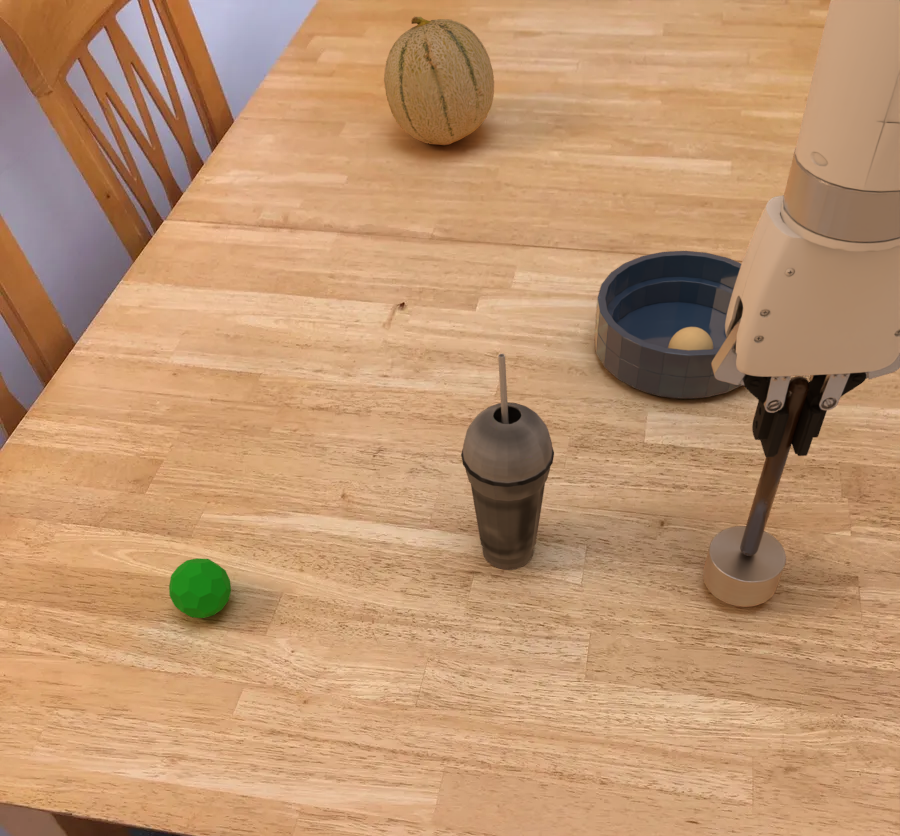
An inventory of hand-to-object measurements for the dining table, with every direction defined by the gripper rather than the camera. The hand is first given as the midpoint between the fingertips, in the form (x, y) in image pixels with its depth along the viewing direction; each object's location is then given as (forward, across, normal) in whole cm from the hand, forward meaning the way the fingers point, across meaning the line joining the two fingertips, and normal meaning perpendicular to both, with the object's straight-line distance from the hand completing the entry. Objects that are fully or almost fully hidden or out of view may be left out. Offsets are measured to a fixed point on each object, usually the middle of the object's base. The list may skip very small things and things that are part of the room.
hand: (781, 441), depth 65 cm
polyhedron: (+16, +45, 0) cm, 48 cm away
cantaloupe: (+16, +25, -81) cm, 86 cm away
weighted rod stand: (+15, 0, 0) cm, 15 cm away
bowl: (+16, 0, -32) cm, 36 cm away
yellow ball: (+13, 0, -28) cm, 31 cm away
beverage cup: (+16, +19, -5) cm, 26 cm away
